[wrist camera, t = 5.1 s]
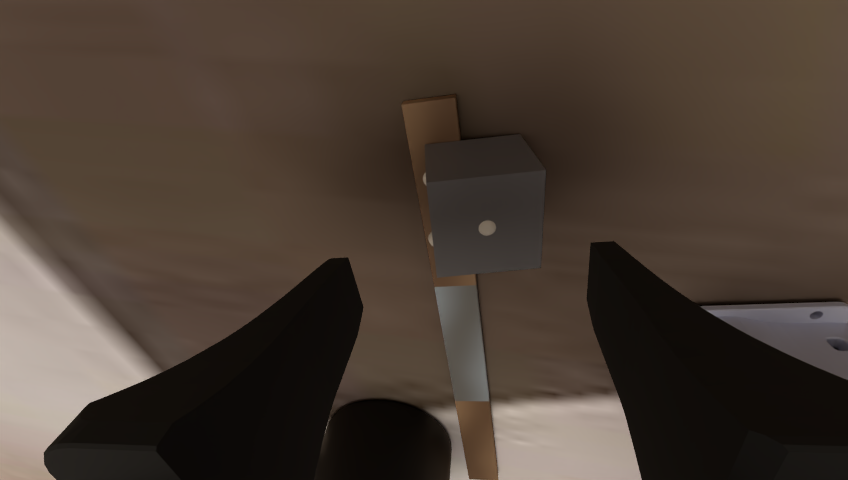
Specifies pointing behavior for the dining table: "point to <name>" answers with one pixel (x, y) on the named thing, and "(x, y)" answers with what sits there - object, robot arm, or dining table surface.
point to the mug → (383, 444)
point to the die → (485, 205)
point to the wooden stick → (455, 296)
